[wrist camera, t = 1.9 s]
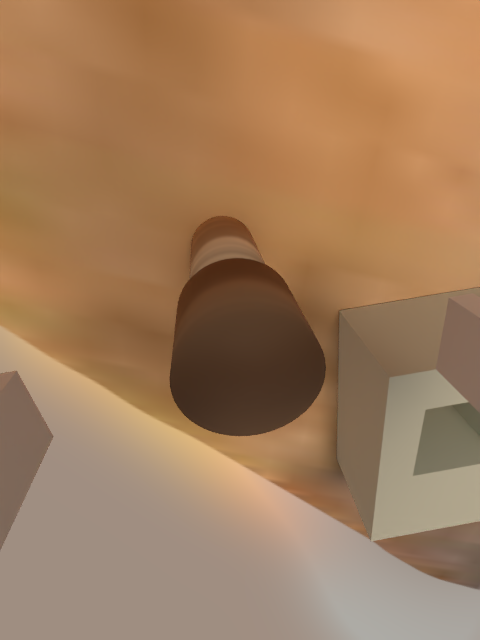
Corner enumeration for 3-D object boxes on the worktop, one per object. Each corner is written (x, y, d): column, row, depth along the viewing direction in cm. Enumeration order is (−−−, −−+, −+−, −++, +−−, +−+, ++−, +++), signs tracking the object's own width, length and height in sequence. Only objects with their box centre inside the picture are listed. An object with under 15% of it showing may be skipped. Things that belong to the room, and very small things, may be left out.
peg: (176, 215, 19) (151, 327, 9) (256, 203, 19) (325, 298, 9) (192, 288, 21) (187, 446, 11) (263, 276, 21) (325, 422, 11)
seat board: (339, 310, 23) (389, 377, 17) (570, 272, 24) (699, 323, 18) (336, 458, 31) (371, 541, 25) (511, 427, 31) (587, 500, 25)
